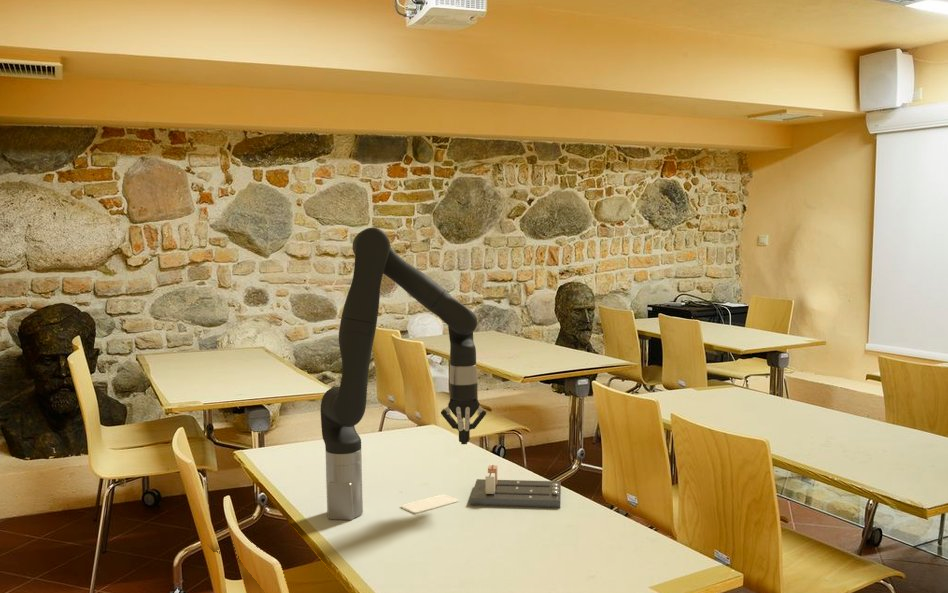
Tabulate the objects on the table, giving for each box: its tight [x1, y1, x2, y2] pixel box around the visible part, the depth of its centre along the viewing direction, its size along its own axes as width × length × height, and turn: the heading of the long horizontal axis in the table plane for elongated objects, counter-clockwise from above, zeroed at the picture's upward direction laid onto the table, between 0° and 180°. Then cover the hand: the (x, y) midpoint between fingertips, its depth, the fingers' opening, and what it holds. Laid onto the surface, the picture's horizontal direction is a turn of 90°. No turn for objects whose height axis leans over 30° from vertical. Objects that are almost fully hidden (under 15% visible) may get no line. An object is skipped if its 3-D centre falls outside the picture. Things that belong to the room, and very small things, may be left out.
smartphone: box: [400, 493, 460, 515], centre depth 217 cm, size 7×1×15 cm
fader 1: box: [487, 464, 498, 486], centre depth 227 cm, size 3×2×5 cm
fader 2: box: [485, 472, 495, 494], centre depth 220 cm, size 3×2×5 cm
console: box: [469, 478, 562, 509], centre depth 223 cm, size 16×24×3 cm, turn 84°
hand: (464, 443), depth 220 cm, fingers closed
